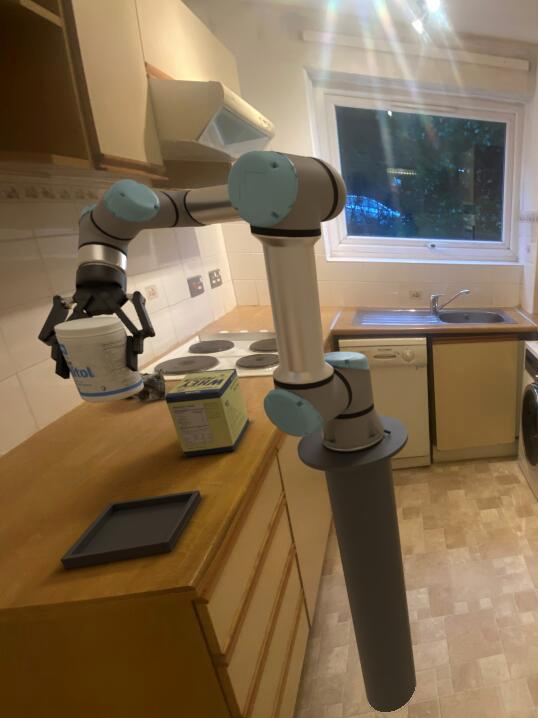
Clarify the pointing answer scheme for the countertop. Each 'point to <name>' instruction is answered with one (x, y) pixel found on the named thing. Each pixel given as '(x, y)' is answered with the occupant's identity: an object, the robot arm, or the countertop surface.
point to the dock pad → (133, 529)
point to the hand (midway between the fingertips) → (98, 372)
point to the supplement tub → (98, 358)
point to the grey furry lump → (152, 386)
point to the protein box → (208, 412)
